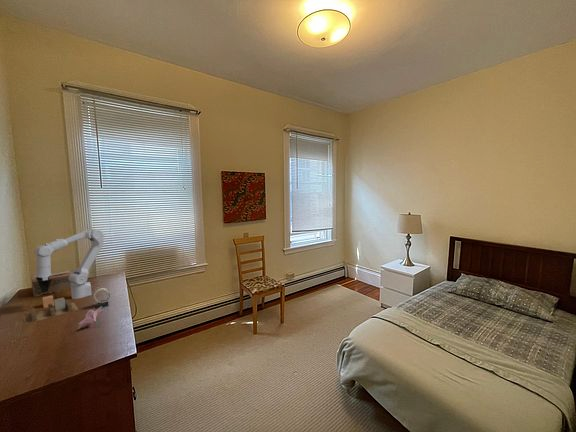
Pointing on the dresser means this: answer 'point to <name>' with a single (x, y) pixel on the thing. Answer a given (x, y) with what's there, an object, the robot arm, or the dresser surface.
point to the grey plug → (59, 304)
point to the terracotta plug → (48, 301)
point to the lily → (90, 317)
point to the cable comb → (48, 312)
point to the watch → (104, 302)
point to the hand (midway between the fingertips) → (44, 290)
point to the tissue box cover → (53, 283)
